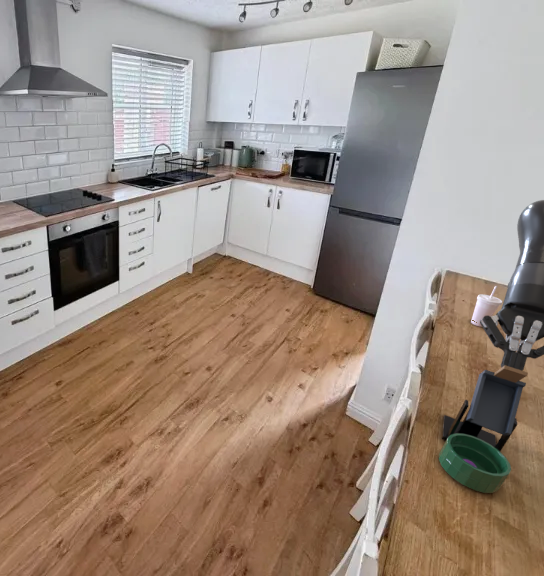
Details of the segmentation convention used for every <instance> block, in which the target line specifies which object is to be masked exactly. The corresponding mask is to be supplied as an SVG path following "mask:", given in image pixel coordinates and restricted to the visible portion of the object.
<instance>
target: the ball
mask: <svg viewBox="0 0 544 576" xmlns="http://www.w3.org/2000/svg"><path fill="white" fill-rule="evenodd" d="M463 460H464V461H466V462H467V463H469V464H470V465H472V466H474V467H476V465H475V464H474V463H473V462H472V461H470V460H467V459H463ZM476 468H477V467H476Z"/></svg>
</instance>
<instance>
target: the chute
mask: <svg viewBox="0 0 544 576" xmlns="http://www.w3.org/2000/svg"><path fill="white" fill-rule="evenodd" d="M528 375H529V372H528V371H524V370H523V371H521V370H518V369H515V368H512V367H509V366H506V365H505V366H503V367H502V368H501V367H500V368H499V369H498V370H496V371H495V372H494V371H491V370H488V369H484V370H482V372H481V373H479V374H478V378H477V380H476V385H475V388H474V390H473V391H474V392H473V395H472V398H471V402H470V405H469V407H468V411H469V412H468V411H467V413H468V415H467V419H466V420H467V421H469V422H472V423H474V424H477V425H479V426H482V428H484V429H487V430H489V431H492V432H495V433H496V434H499V435H501V436H502V435H505V436H507V435H510V434H511V432H512V429H513V425H514V421H515V418H516V416H517V414H518V413H517V412H518V409H519V405H520V400H521V397H522V393H523V389H524V388H525V387H526V385H527V382H525V381H521V380H523V379H524V378H526V377H528ZM512 433H513V432H512ZM511 435H512V434H511Z"/></svg>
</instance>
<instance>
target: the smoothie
mask: <svg viewBox="0 0 544 576" xmlns="http://www.w3.org/2000/svg"><path fill="white" fill-rule="evenodd" d="M497 288H498V285H494V288H493V290H492V292H491V294H490V295H489V294H484V293H483V294H482V293H481V294H478V295H477V297H476V303H475V306H474V310H473V313H472V317H471V321H470V324H472V325H474V326H477V327H480V328H481V327H482V326H481V324H480V321H481V319H482V318H483V317H484V316H494V315H495V313H496V311H497V310H498V308H499V307H500V306H502V305H503V300H502V299H501V298H498V297H496V296H494V295H495V292H496V290H497ZM472 320H474V321H475V322H474V321H472ZM476 322H477V323H476ZM482 328H483V327H482Z"/></svg>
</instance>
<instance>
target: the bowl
mask: <svg viewBox="0 0 544 576" xmlns="http://www.w3.org/2000/svg"><path fill="white" fill-rule="evenodd" d="M463 459H467V460H470V461H472V462H473V463H474V464H475V465H476V467H477V468H476V467H474V466H472V465H470V464H469V463H467V462H466V461H464V460H463ZM438 461H439V463H440V466H441V467H442V469H443V470H444V471H445V472H446V473H447V474H448V475H449V476H450V477H451V478H452V479H453V480H454V481H456V482H458V483H459V484H461V485H462V486H465V487H467V488H469V489H471V490H473V491H476V492H480V493H484V494H493V493H496V492H498V491H499V490H500V488H501V487H502V485H503V484H504V482H505V481H506V479H507V478H508V476H509V475H510V474H511V471H512V466H511V463H510V461H509V460H508V458H507V457H506V456H505V455H504V454H503V453H502V452H501V451H499V450H497V449H496V448H495V447H493V446H492V445H490V444H489V443H487V442H485V441H483V440H481V439H479V438H476V437H474V436H471V435H467V434H458V433H456V434H452V435H450V436H449V437H448V438H447V440H446V442H445V441H444V444H443V446H442V447H441V449H440V451H439V452H438Z"/></svg>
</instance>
